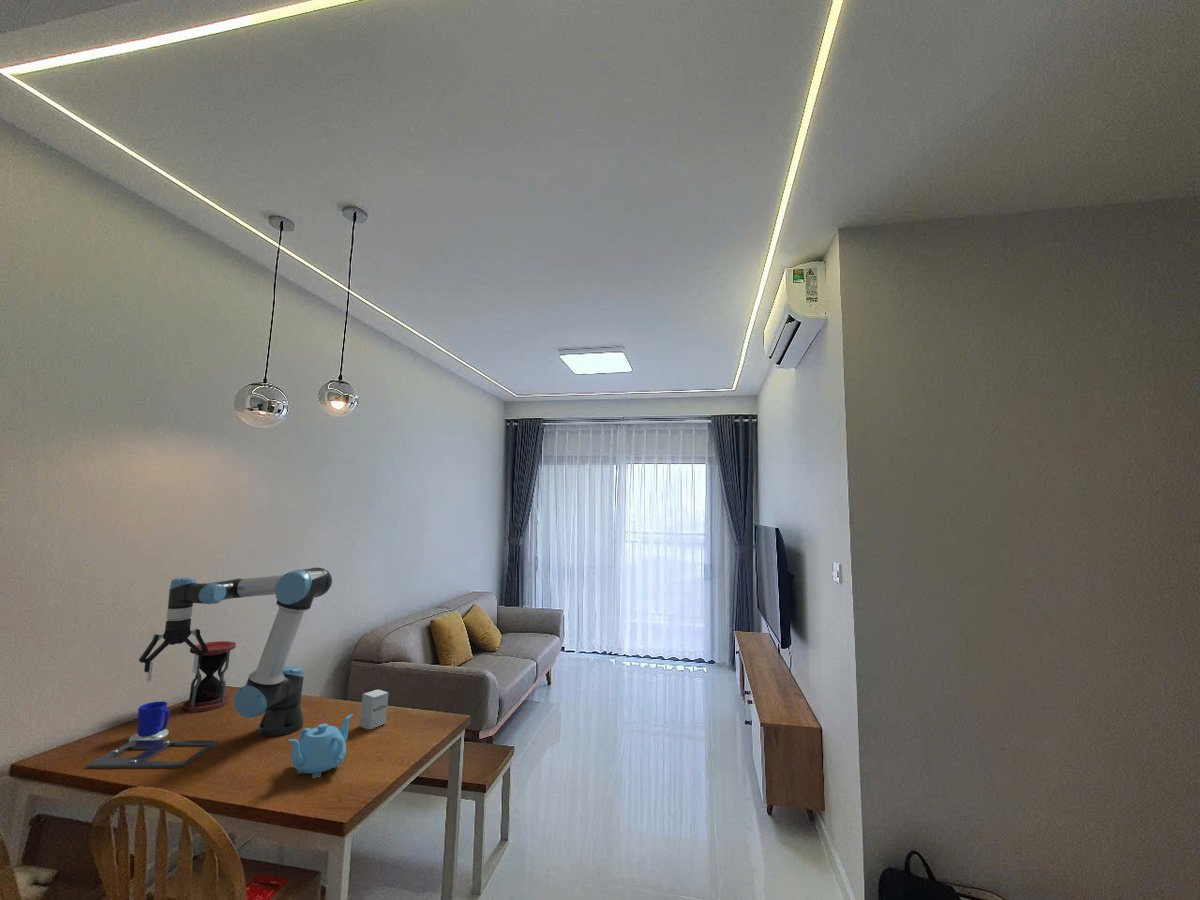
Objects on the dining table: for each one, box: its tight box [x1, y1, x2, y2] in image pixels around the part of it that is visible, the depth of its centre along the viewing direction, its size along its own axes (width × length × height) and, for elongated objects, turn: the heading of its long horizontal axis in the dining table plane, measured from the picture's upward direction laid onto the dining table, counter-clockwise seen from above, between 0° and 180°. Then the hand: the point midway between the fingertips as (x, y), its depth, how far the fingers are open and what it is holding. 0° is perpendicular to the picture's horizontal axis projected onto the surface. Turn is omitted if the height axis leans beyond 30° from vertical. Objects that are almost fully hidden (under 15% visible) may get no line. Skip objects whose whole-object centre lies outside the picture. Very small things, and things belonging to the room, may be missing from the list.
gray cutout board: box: [85, 739, 221, 769], centre depth 174 cm, size 30×18×1 cm, turn 95°
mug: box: [136, 701, 171, 736], centre depth 188 cm, size 8×12×10 cm
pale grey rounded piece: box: [128, 728, 170, 742], centre depth 187 cm, size 11×11×1 cm
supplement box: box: [358, 689, 389, 730], centre depth 204 cm, size 7×7×13 cm
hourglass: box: [181, 640, 237, 713], centre depth 220 cm, size 16×16×25 cm
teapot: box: [288, 713, 354, 777], centre depth 170 cm, size 16×20×14 cm
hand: (172, 676), depth 191 cm, fingers open, 13 cm apart
